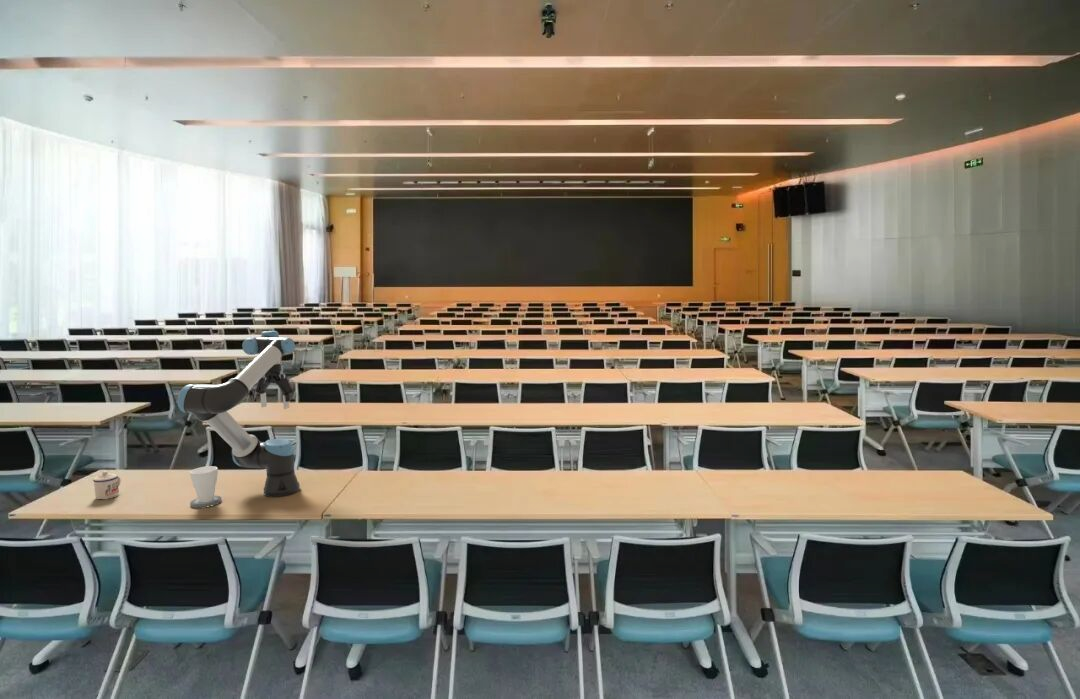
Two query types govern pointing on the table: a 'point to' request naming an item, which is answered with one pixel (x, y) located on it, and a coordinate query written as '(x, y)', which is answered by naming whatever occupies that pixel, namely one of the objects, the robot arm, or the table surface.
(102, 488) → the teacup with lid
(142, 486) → the table surface
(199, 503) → the plate
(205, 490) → the cup
